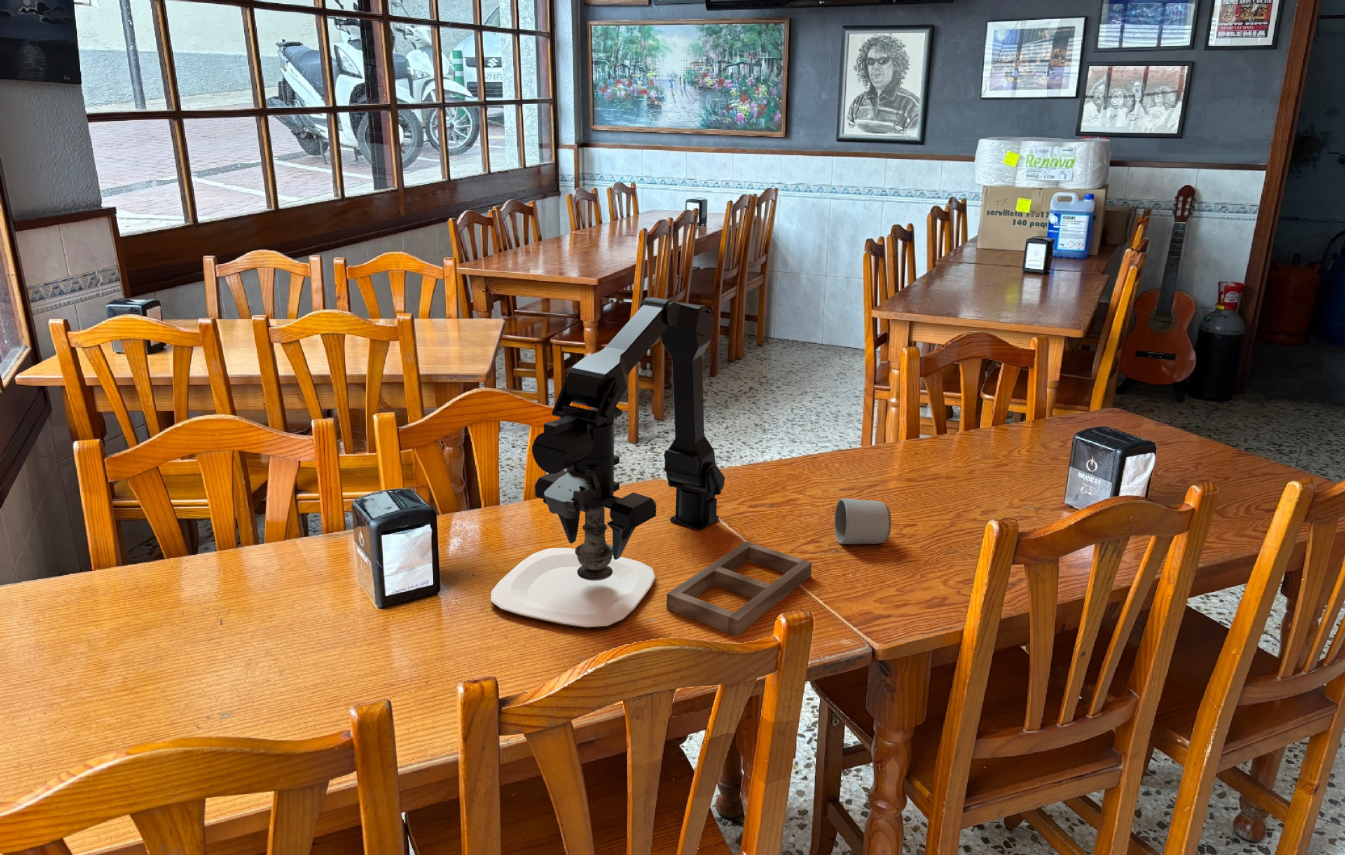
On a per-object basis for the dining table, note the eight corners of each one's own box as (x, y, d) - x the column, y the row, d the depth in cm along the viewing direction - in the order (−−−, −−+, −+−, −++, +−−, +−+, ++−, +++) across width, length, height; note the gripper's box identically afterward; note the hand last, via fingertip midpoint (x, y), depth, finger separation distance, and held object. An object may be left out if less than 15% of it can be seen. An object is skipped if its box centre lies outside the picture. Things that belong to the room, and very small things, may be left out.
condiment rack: (666, 608, 133) (666, 593, 132) (744, 554, 150) (745, 541, 149) (737, 636, 127) (737, 620, 126) (810, 576, 144) (811, 562, 143)
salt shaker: (572, 564, 139) (571, 491, 135) (611, 561, 140) (611, 489, 136) (578, 583, 134) (577, 507, 130) (617, 579, 135) (618, 504, 131)
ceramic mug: (891, 550, 153) (896, 508, 151) (843, 551, 152) (847, 508, 150) (872, 525, 163) (876, 484, 161) (827, 525, 162) (830, 485, 160)
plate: (667, 573, 144) (667, 564, 144) (614, 644, 125) (614, 633, 124) (542, 550, 151) (542, 541, 150) (473, 613, 131) (473, 603, 131)
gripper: (506, 452, 130) (510, 552, 135) (609, 484, 120) (608, 590, 125) (559, 432, 138) (561, 526, 143) (659, 460, 128) (657, 561, 133)
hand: (594, 550), depth 136 cm, fingers closed on salt shaker, 8 cm apart
